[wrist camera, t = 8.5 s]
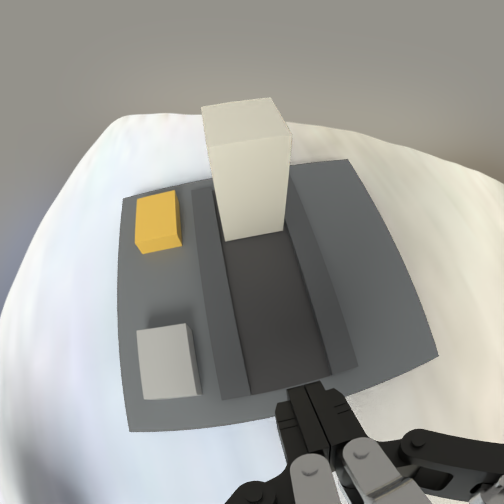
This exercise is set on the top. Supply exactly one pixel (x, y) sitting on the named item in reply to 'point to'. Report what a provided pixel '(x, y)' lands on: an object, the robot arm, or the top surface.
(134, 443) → the top surface
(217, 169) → the switch tab
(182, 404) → the switch panel
